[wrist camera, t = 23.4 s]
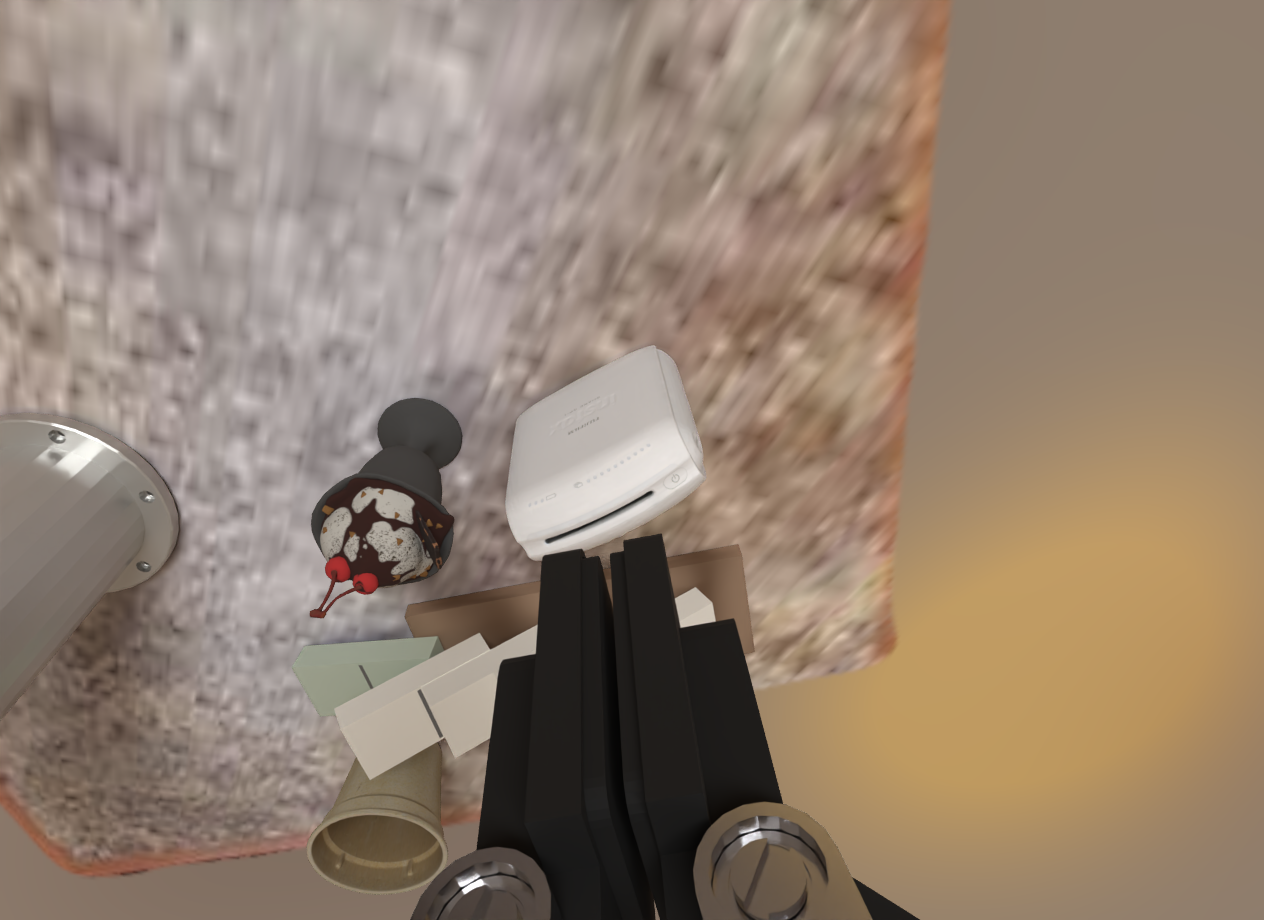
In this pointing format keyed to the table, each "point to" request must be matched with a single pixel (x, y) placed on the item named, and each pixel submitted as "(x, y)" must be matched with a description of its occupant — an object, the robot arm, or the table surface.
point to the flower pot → (384, 829)
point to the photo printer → (603, 456)
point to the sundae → (391, 505)
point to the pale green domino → (357, 667)
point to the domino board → (519, 604)
